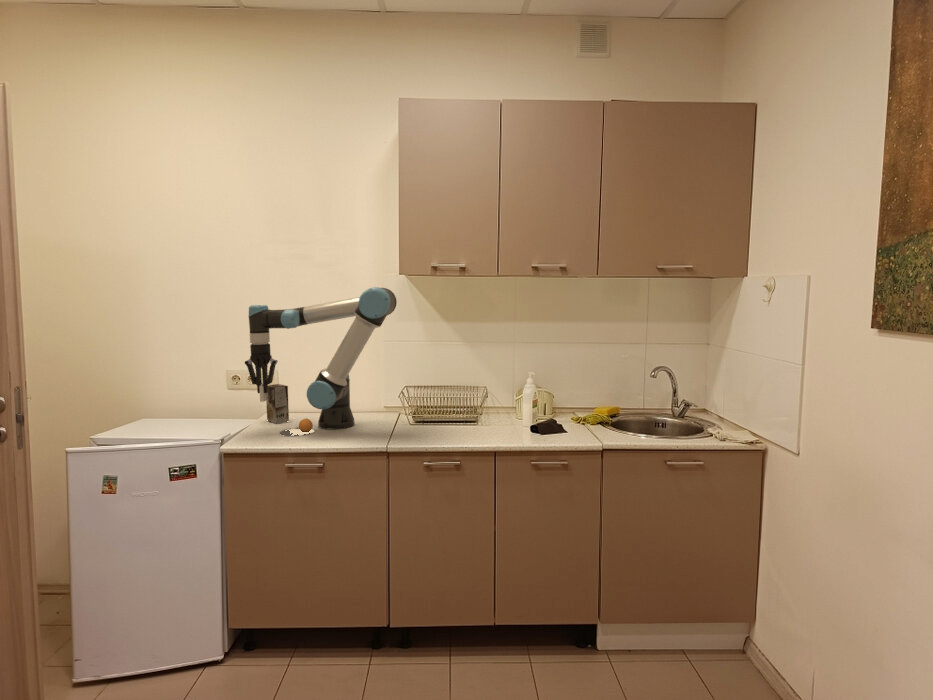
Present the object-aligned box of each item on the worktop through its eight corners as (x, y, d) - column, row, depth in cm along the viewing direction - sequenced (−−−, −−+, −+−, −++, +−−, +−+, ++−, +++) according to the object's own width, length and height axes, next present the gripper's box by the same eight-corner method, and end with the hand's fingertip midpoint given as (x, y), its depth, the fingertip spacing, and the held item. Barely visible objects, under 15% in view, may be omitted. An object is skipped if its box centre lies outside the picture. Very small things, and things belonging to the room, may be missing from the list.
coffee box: (289, 422, 256) (288, 385, 255) (275, 424, 252) (274, 387, 250) (280, 418, 263) (278, 383, 261) (266, 421, 259) (265, 385, 257)
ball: (307, 433, 241) (317, 424, 240) (303, 436, 235) (313, 427, 235) (298, 423, 240) (307, 414, 240) (293, 426, 235) (303, 417, 234)
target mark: (319, 428, 245) (319, 427, 245) (309, 436, 231) (309, 435, 231) (286, 427, 245) (286, 427, 245) (274, 436, 231) (274, 435, 231)
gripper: (279, 342, 238) (282, 399, 241) (248, 342, 239) (251, 399, 241) (272, 344, 231) (275, 402, 233) (240, 344, 231) (243, 403, 234)
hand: (263, 401), depth 237 cm, fingers closed
